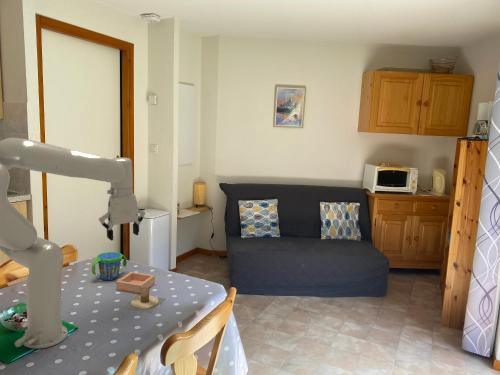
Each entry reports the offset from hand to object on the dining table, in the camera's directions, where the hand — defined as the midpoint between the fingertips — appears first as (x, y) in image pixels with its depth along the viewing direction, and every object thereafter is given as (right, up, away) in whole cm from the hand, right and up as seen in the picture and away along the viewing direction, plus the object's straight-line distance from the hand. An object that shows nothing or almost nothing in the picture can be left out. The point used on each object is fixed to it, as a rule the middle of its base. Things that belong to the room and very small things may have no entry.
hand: (123, 236), depth 140 cm
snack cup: (-15, -22, +27) cm, 38 cm away
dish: (-1, -24, +19) cm, 30 cm away
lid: (+7, -26, +4) cm, 27 cm away
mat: (+7, -26, +4) cm, 28 cm away
